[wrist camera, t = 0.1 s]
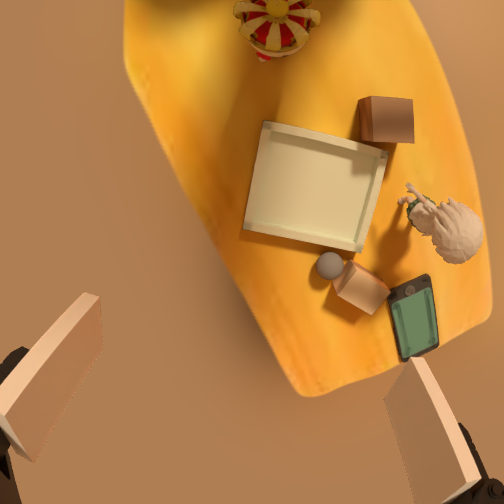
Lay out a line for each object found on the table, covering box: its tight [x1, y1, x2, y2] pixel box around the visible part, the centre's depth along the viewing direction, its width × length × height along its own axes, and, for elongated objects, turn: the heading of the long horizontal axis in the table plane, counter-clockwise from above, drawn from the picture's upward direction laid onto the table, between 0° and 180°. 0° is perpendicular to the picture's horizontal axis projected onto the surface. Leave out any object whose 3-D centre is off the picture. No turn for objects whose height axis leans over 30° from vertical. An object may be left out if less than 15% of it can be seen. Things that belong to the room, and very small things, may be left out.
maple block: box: [332, 258, 391, 315], centre depth 39 cm, size 4×6×4 cm, turn 59°
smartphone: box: [387, 274, 439, 362], centre depth 43 cm, size 7×1×15 cm
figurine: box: [398, 183, 483, 264], centre depth 30 cm, size 10×6×15 cm, turn 47°
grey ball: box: [316, 252, 344, 280], centre depth 39 cm, size 4×4×4 cm
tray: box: [243, 120, 389, 253], centre depth 36 cm, size 13×15×2 cm
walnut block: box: [358, 96, 414, 143], centre depth 31 cm, size 5×5×5 cm
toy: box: [233, 0, 320, 62], centre depth 24 cm, size 7×7×15 cm
